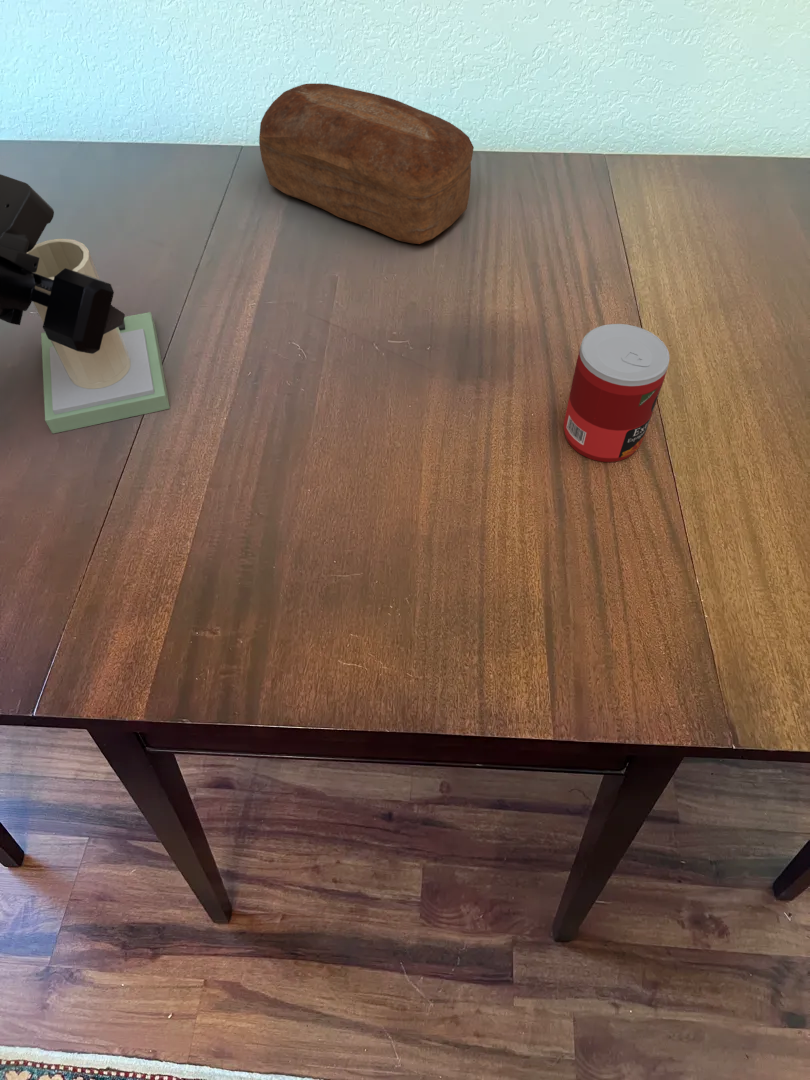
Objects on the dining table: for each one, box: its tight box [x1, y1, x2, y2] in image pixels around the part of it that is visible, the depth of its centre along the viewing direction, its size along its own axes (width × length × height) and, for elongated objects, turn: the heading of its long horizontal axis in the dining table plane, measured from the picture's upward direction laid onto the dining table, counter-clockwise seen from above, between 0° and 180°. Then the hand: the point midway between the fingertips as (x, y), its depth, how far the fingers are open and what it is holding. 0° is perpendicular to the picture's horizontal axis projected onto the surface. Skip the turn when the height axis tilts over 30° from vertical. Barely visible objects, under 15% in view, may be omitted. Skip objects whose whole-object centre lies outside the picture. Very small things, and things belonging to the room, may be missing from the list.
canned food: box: [563, 323, 670, 463], centre depth 74 cm, size 8×8×11 cm
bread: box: [258, 82, 475, 245], centre depth 99 cm, size 14×28×12 cm, turn 55°
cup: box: [27, 238, 131, 389], centre depth 76 cm, size 6×6×13 cm
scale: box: [40, 311, 171, 434], centre depth 83 cm, size 14×12×3 cm
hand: (86, 305), depth 77 cm, fingers open, 9 cm apart
